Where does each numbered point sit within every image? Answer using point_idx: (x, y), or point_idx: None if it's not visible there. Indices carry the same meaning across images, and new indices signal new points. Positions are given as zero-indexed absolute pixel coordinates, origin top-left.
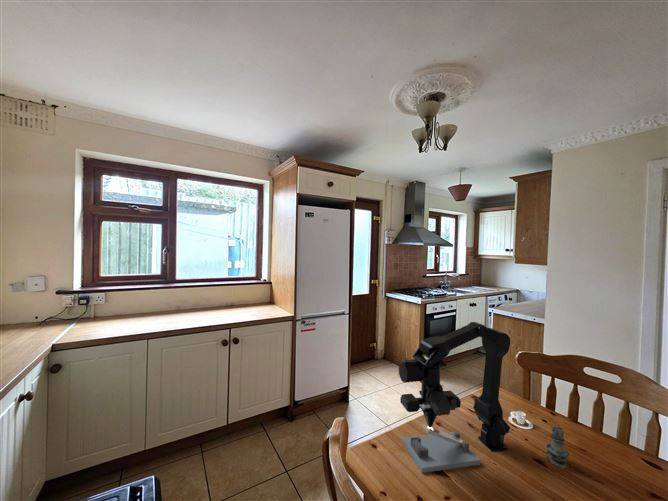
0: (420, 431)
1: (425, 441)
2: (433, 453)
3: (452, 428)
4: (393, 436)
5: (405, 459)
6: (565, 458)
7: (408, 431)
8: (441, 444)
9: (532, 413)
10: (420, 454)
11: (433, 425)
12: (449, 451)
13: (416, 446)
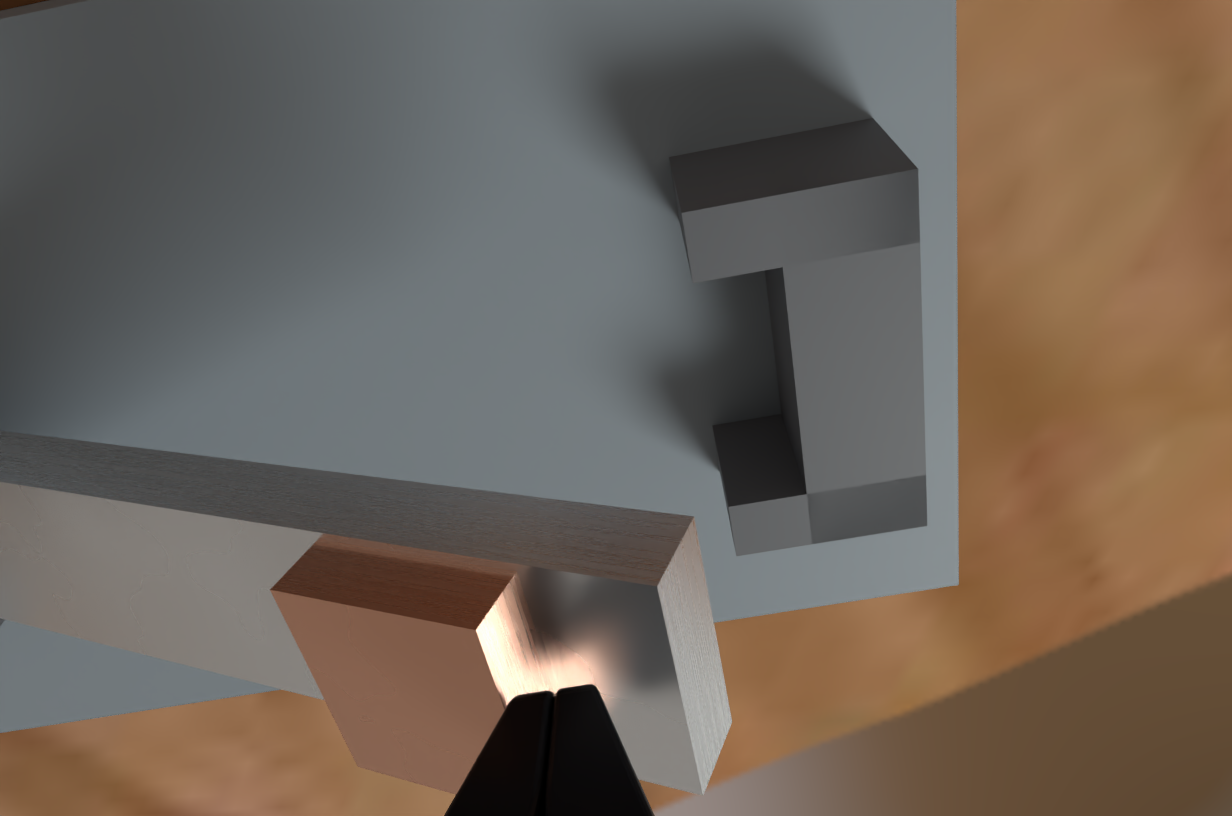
0: None
1: None
2: (521, 254)
3: (33, 798)
4: (1032, 625)
5: (1079, 168)
6: None
7: (745, 719)
8: None
9: None
10: (869, 144)
11: (408, 768)
12: (171, 318)
13: (921, 306)
